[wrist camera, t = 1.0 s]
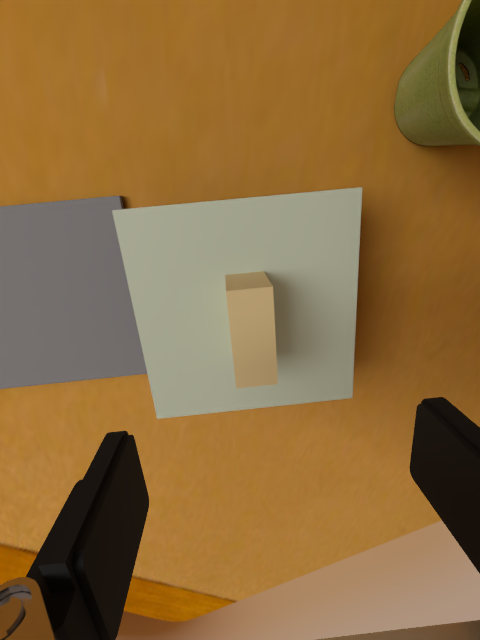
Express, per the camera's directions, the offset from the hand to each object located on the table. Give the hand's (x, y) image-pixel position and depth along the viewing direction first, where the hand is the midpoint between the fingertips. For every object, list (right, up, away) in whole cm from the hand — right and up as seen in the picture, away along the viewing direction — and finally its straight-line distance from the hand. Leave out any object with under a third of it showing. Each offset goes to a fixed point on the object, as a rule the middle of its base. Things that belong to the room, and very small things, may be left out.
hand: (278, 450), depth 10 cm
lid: (-1, +5, +12) cm, 13 cm away
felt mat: (-17, +6, +16) cm, 24 cm away
